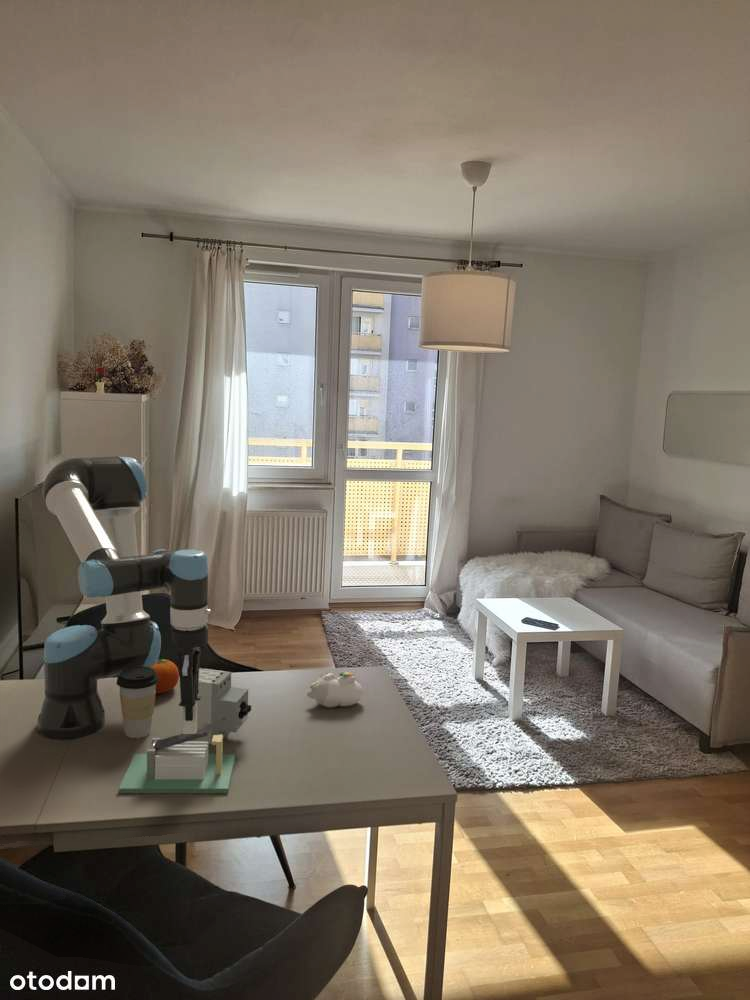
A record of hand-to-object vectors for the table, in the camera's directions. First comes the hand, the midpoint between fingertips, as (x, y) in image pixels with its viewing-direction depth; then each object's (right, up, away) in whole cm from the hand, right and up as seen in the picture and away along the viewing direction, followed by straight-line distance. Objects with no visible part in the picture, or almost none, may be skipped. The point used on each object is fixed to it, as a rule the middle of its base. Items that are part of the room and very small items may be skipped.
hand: (190, 732), depth 156 cm
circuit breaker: (+2, -7, +19) cm, 21 cm away
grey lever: (-2, -2, +1) cm, 3 cm away
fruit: (-19, -2, +43) cm, 47 cm away
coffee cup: (-17, -6, +19) cm, 27 cm away
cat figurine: (+29, -6, +40) cm, 49 cm away
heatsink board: (-3, -10, +2) cm, 10 cm away
